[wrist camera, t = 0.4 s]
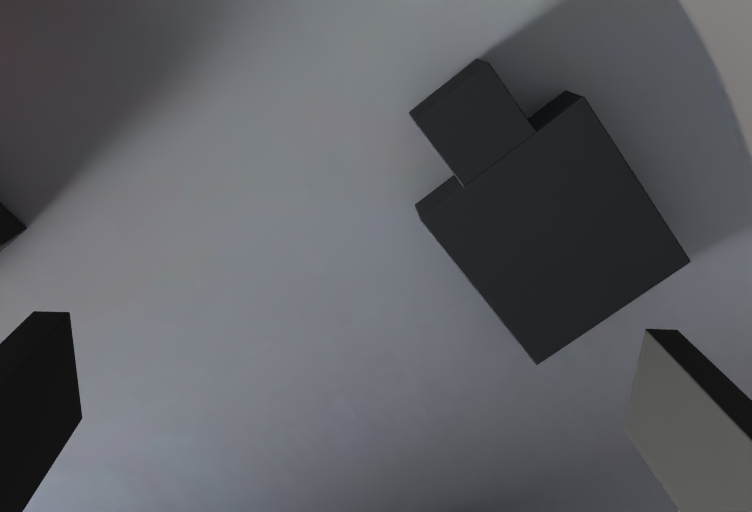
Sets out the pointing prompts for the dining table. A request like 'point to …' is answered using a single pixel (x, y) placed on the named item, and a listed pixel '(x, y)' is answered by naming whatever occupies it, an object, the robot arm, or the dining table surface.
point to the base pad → (9, 227)
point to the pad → (540, 210)
